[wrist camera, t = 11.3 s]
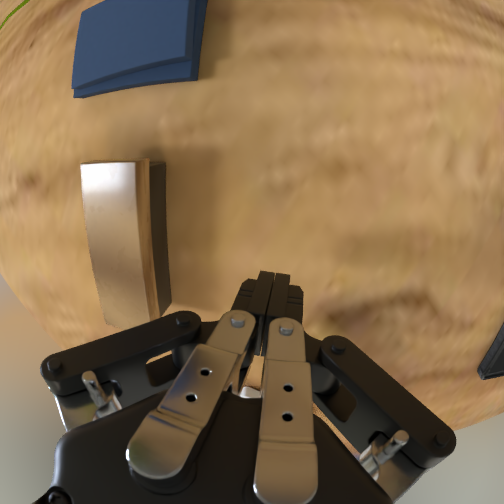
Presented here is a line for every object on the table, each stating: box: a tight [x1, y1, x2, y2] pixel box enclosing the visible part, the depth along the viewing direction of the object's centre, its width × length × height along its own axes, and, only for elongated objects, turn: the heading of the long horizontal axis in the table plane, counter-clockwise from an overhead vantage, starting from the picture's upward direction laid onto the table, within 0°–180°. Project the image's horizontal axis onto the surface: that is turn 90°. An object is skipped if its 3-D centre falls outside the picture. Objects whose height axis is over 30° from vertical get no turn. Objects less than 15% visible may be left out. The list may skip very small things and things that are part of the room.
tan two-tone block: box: [81, 158, 172, 330], centre depth 17 cm, size 12×4×4 cm, turn 176°
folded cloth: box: [72, 0, 208, 98], centre depth 12 cm, size 8×10×2 cm
